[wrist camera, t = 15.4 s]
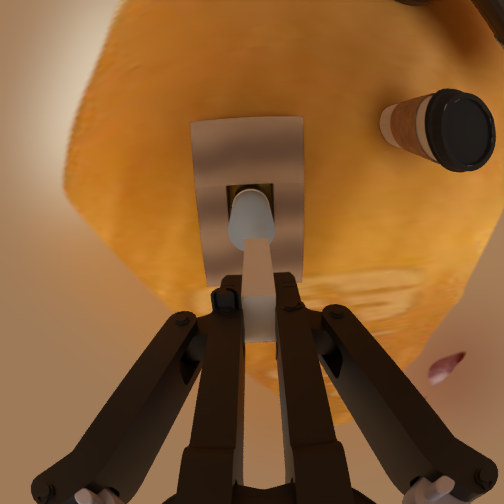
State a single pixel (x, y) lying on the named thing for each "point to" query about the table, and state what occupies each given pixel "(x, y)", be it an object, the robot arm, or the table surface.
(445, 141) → the coffee cup
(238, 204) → the peg
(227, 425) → the robot arm
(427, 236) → the table surface
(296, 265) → the board
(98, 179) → the table surface
